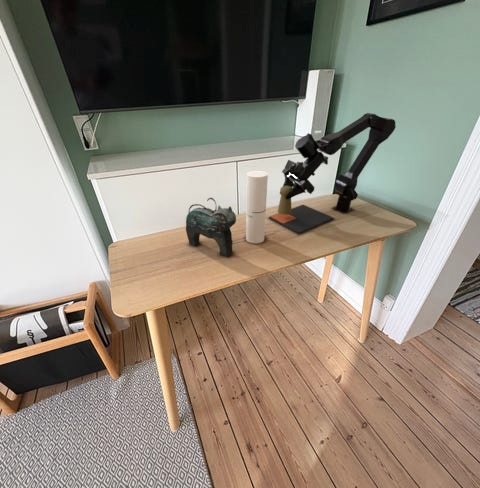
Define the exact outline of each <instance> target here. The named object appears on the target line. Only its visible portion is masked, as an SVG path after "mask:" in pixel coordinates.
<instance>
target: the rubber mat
mask: <svg viewBox="0 0 480 488" xmlns="http://www.w3.org/2000/svg"><path fill="white" fill-rule="evenodd" d="M291 209H292V212H291V214H288V215H283V214H279V213H276V214H274V215H270V216H269V217H268V219H269V220H271V221H272V222H275V223H276V224H278V225H280V226H281V227H284V228H286V229H288V230H290V231H291V232H293V233H295V234H297V235H300V234H303V233H305V232H307V231H309V230H312V229H315V228H318V227H319V226H321V225H324V224H326V223H328V222H330V221H333V220H334V217H333V216H331V215H329V214H326V213H324V212H322V211H319V210H316V209H314V208H312V207H309V206H307V205H306V204H301V205H299V206H296V207H292V208H291Z"/></svg>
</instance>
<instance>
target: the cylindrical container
mask: <svg viewBox="0 0 480 488" xmlns="http://www.w3.org/2000/svg"><path fill="white" fill-rule="evenodd" d="M245 175H246V180H245V181H246V182H245V184H246V187H245V188H246V190H245V191H246V192H245V195H246V196H245V197H246V198H245V199H246V200H245V201H246V202H245V203H246V204H245V205H246V206H245V208H246V209H245V211H246V212H245V235H246V236H245V240H246V241H247V242H248V243H250V244H260V243H263V242H264V241H265V235H266V234H265V233H266V214H267V198H268V196H267V195H268V180H269V179H268V178H269V172H267V171H264V170H250V171H247V172H246V174H245Z"/></svg>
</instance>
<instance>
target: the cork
mask: <svg viewBox="0 0 480 488" xmlns="http://www.w3.org/2000/svg"><path fill="white" fill-rule="evenodd" d="M292 188H293V187H291V186H283V185H282V186H281V187H280V190H279V194H280V193H281V194H280V198H279V203H278V208H277V214H283V215H288V214H291V212H292V209H293V208H292V198H289V199H286V198H285V197H286V196H287V194H288V193H289V192H290V190H291V189H292Z"/></svg>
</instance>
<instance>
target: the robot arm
mask: <svg viewBox="0 0 480 488" xmlns="http://www.w3.org/2000/svg"><path fill="white" fill-rule="evenodd" d="M396 127H397V126H396V120H395V119H394V118H388V117H384V116H379V115H377V114H376V113H370V112H366V113H364V114H363V115H362V116H361V117H359V118H357V119H356V120H355V121H353V122H352V123H349V124H348V125H346V126H345V127H343V128H342V129H340V130H339V131H336V132H332V133H329V134H325V135H324V136H322V137H321V138H320V139H317V140H315V139H314V136H313V135H312V134H311V133H309V132H308V133H307V134H306V135H304V136H301V138H298V140H297V141H296V142H295V145H294V147H295V149H296V150H297V152H298V153H299V154H300V155H301V156H302V158H303V159H305V160H304V161H297V162H295V161H293V160H290V159H288V160H287V161H286V163H285V166H284V167H283V169H282V170H281V173H282V174H283V176H284V182H283V184H282V187H283V186H291V187H292V189H291V190H290V192H289V193H288V194H287V196H286V197H285V198H286V199H289V198H291V199H292V198H294V197H296V196H298V195H301V194H306V192H307V193H308V194H309V195H312V194H313V192H314V191H315V185H314V184H312V182H311V181H310V180H309V178H310V177H312V176H313V177H314V176H315V175H316V173H315V172H316V171H317V170H318V168H319V167H320V166H322V164H324V165H326V166H327V165H328V164H329V157H328V156H326V155H329V156H333V155H335V154H336V153H337V152H339V150H340V149H341V148H342V147H343V146H344V144H345V143H346V142H348V141H350V140H351V139H352V138H354V137H356V136H357V135H359V134H361V133H362V132H364V131H366V130H367V129H368V128H369V131H368V138H367V140H366V142H365V143H364V145H363V147H362V148H361V150H360V152H359V153H358V155H357V156H356V158H355V159H354V161H353V163H352V164H351V165H350V168H349V169H348V171H347V172H345V173H344V174H342V173H340V174H339V175H338V178H337V179H336V181H335V184H334V186H333V187H334V191H335V195H337V196H338V199H337V201H336V206H333V207H332V209H333V210H336V211H338V212H339V213H340V212H341V213H344V214H345V213H349V212H350V211H352V210H353V207H351V205H352V201H354V200H357V199H358V196H359V193H358V192H357V191H356V188H357V186H358V179H359V176H360V175H361V173H362V172H363V171H364V169H365V167H366V166H367V164H368V163H369V161H370V159H371V158H372V156H373V155H374V153H375V152H376V150H377V149H378V148H379V146H380V145H381V144H382V143H384V142H385V141H386V140H388V139H389V137H390V136H391V135H392V134H393V133H394V132H395V130H396ZM324 154H326V155H324ZM279 195H281V193H280V192H279Z"/></svg>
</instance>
